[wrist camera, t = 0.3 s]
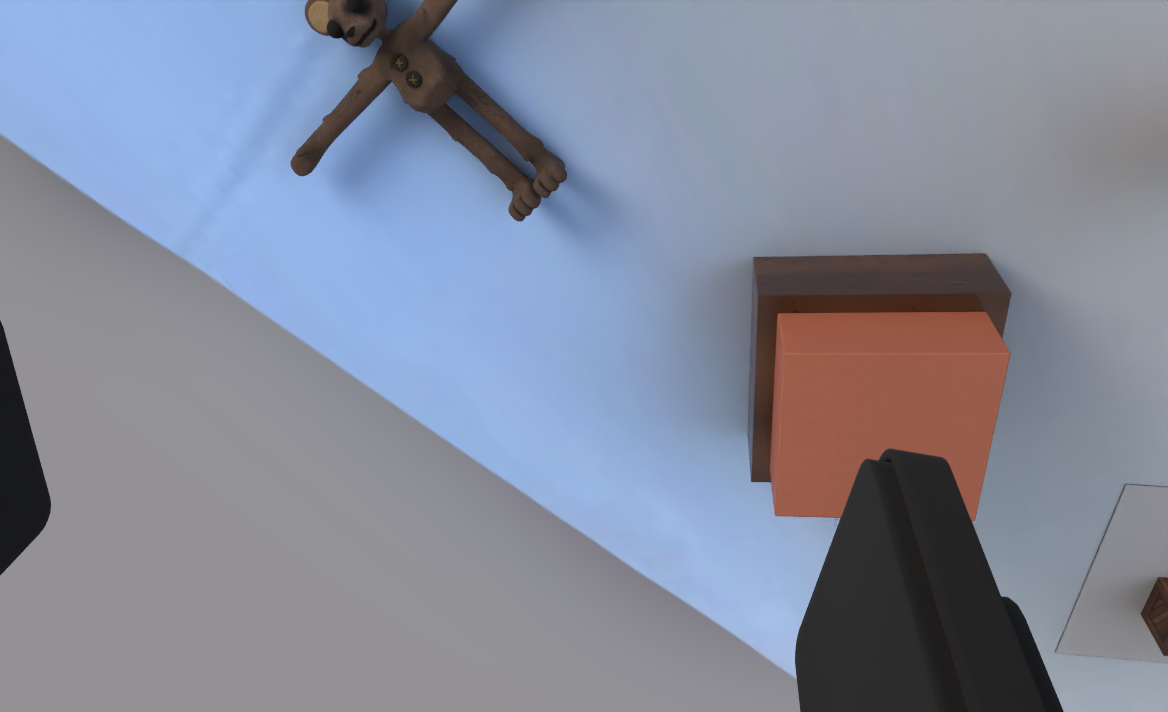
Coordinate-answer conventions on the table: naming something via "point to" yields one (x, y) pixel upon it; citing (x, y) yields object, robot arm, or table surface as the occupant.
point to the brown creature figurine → (424, 94)
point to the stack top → (880, 400)
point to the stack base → (854, 308)
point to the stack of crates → (1126, 585)
